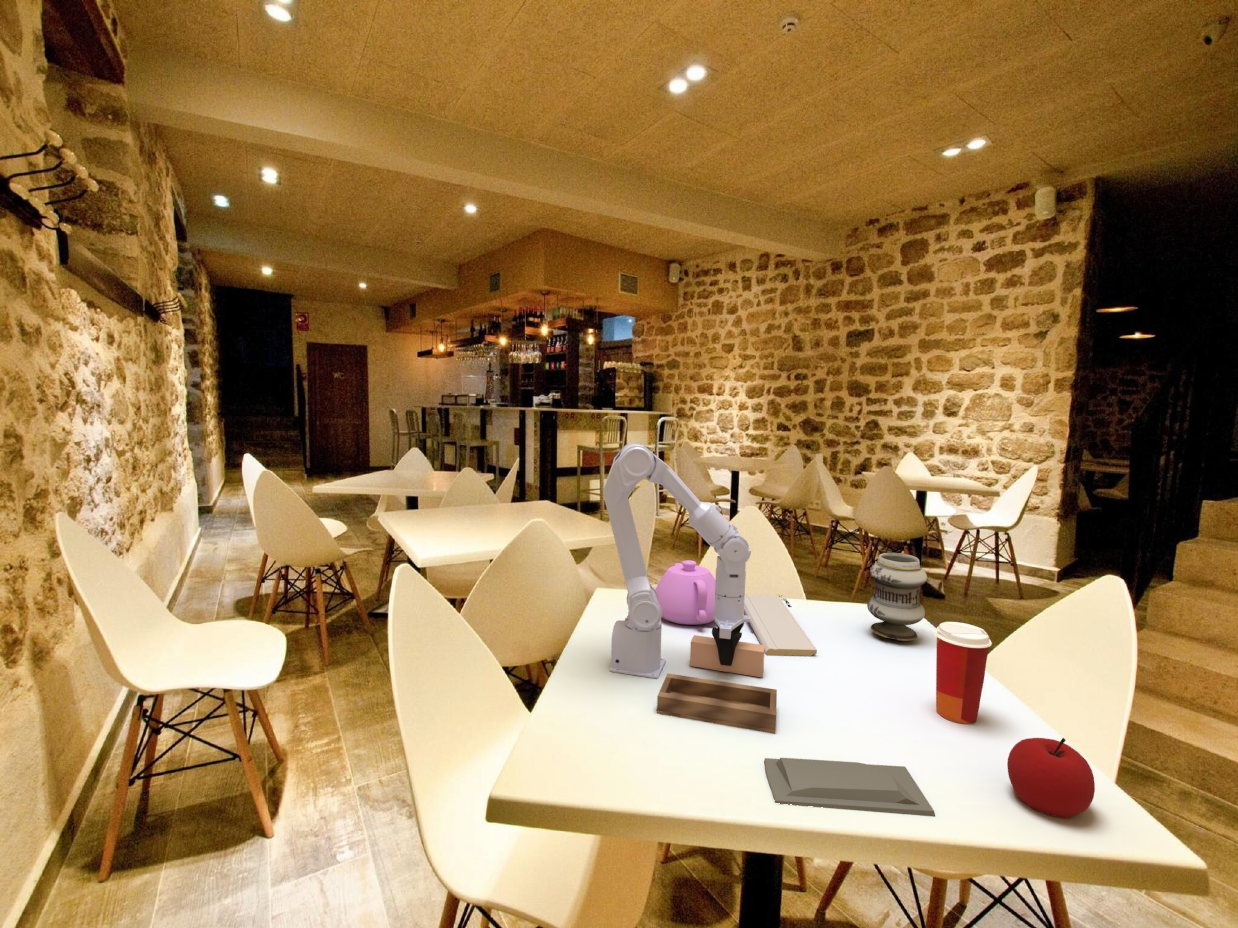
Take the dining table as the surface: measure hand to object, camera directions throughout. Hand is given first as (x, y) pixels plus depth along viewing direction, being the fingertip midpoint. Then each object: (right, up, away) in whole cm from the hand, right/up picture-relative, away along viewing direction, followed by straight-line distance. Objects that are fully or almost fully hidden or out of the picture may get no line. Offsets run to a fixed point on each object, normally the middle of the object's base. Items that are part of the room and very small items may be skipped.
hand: (726, 660), depth 112 cm
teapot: (-2, +1, +29) cm, 29 cm away
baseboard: (+22, +1, +22) cm, 31 cm away
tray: (-5, -3, -16) cm, 17 cm away
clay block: (0, -2, 0) cm, 2 cm away
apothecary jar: (+43, -1, +21) cm, 47 cm away
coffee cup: (+36, -4, -15) cm, 39 cm away
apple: (+35, -7, -38) cm, 52 cm away
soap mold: (+9, -6, -36) cm, 37 cm away
